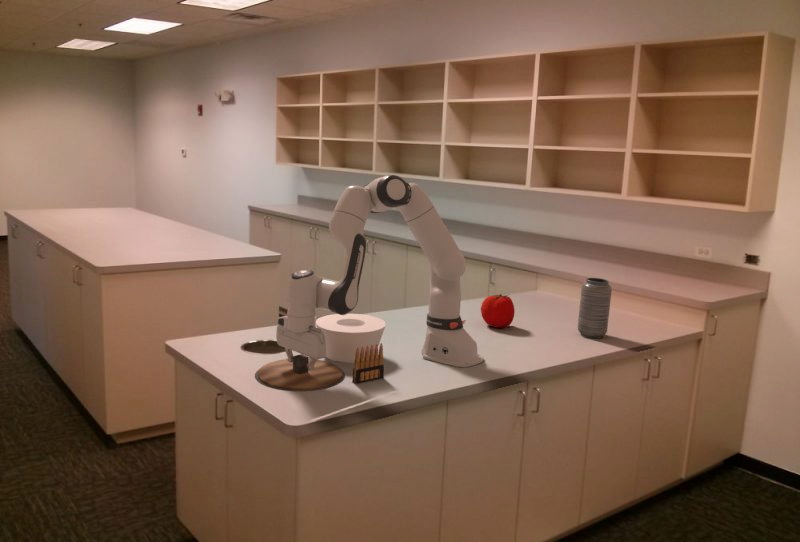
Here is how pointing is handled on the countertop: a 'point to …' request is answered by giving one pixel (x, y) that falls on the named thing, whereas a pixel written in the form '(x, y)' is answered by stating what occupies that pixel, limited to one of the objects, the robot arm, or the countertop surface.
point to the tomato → (498, 310)
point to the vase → (594, 308)
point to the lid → (299, 374)
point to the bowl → (350, 334)
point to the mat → (300, 390)
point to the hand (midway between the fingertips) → (300, 365)
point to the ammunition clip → (368, 365)
